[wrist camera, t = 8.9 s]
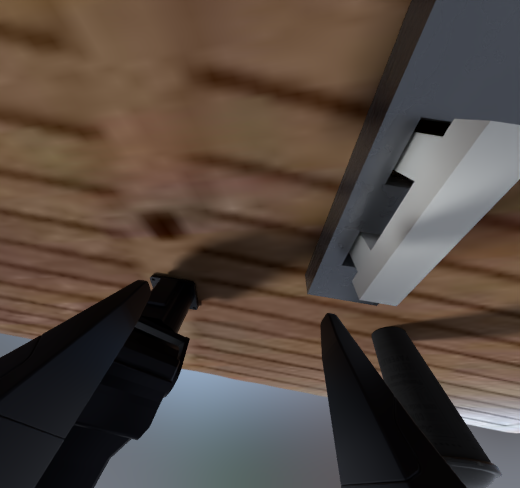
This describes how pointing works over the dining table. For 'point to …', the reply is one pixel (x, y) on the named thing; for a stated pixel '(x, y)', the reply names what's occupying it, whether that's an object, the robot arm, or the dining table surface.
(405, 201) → the clip
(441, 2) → the rail
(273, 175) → the dining table surface
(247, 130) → the dining table surface
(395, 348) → the drinking cup
